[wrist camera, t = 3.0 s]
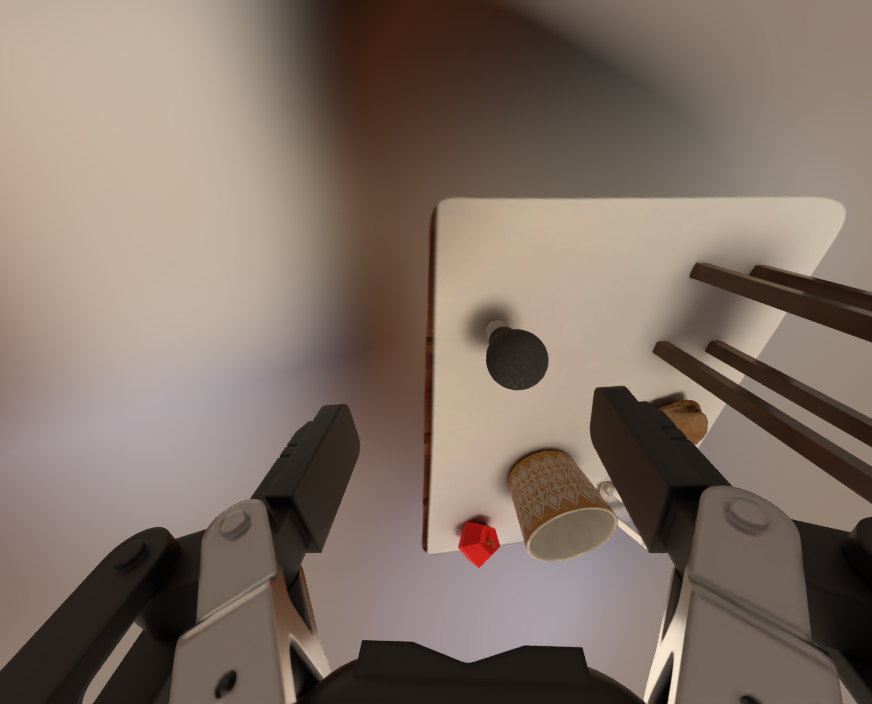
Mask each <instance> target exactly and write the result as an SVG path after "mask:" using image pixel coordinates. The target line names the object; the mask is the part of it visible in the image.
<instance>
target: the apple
mask: <svg viewBox="0 0 872 704" xmlns="http://www.w3.org/2000/svg"><path fill="white" fill-rule="evenodd" d="M499 547H500V544H499V541H498V537H497V534H496V530H495V528H492V527H490V526H487V525H483V524H478V523H473V522H468V521H467V523H466V525H465V527H464V529H463V531H462V534H461V538H460V542H459V546H458V548H459V549H460V550H461V552H462V553H463V554H464V555H465V556H466V558H467V559H468V560H469V561H471V562H472V563H473V564H474V565H476V566H477V567H478V568H480V567H481V566H482V565H483V564H484V563H485V562H486V561H487V560H488V559H489V558H490V557H491V556H492V555H493V554H494V553H495V552H496V551H497V549H498V548H499Z"/></svg>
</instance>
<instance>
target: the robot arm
mask: <svg viewBox="0 0 872 704" xmlns="http://www.w3.org/2000/svg"><path fill="white" fill-rule="evenodd" d="M590 435H591V440H592V443H593V446H594V448H595V450H596V452H597V454H598V455H599V457H600V459H601V461H602V463H603V465H604V467H605V469H606V471H607V473H608V475H609V477H610V479H611V480H612V482H613V484H614V486H615V488H616V490H617V492H618V494H619V496H620V498H621V500H622V502H623V504H624V505H625V507H626V509H627V511H628V513H629V515H630V517H631V519H632V521H633V523H634V525H635V526H636V528H637V530H638V532H639V534H640V536H641V538H642V540H643V542H644V544H645V546H646V548H647V550H648V551H649V553H668V555H669V556H670V558H671V560H672V562H673V563H674V568H673V571H672V574H671V579H670V585H669V590H668V595H667V600H666V605H665V610H664V615H663V620H662V625H661V630H660V635H659V641H658V645H657V649H656V654H655V658H654V661H653V664H652V668H651V671H650V675H649V679H648V683H647V687H646V692H645V697H644V701H643V700H641V699H640V698H639V697H638V696H637V695H636V694H634V693H633V692H632V691H631V690H629V689H628V688H626V687H625V686H623V685H622V684H620V683H619V682H617V681H616V680H614V679H613V678H611V677H609V676H607V675H605V674H603V673H601V672H599V671H597V670H595V669H592V668H590V667H587V663H586V660H585V656H584V652H583V648H582V647H557V646H556V647H555V646H521V647H519V648H515V649H512V650H509V651H506V652H503V653H500V654H497V655H494V656H490V657H488V658H485V659H481V660H478V661H475V662H471V663H465V662H461V661H459V660H456V659H454V658H451V657H449V656H447V655H444V654H442V653H439V652H437V651H434V650H432V649H429V648H427V647H424V646H422V645H419V644H417V643H414V642H404V641H372V640H362V643H361V648H360V652H359V657H358V659H356V660H353V661H351V662H349V663H347V664H345V665H343V666H341V667H339V668H338V669H336V670H335V671H333V672H332V671H331V668H330V665H329V662H328V659H327V657H326V654H325V652H324V649H323V647H322V644H321V642H320V638H319V635H318V631H317V627H316V623H315V618H314V614H313V610H312V605H311V601H310V597H309V593H308V588H307V584H306V580H305V576H304V571H303V568H302V566H301V563H302V561H303V558H304V556H305V554H306V553H321V552H322V550H323V547H324V545H325V542H326V539H327V537H328V534H329V532H330V529H331V526H332V523H333V521H334V518H335V516H336V513H337V511H338V508H339V505H340V503H341V500H342V497H343V495H344V493H345V490H346V487H347V485H348V482H349V480H350V477H351V474H352V472H353V469H354V467H355V464H356V461H357V459H358V456H359V452H360V440H359V436H358V433H357V430H356V427H355V424H354V421H353V418H352V415H351V412H350V409H349V407H348V405H346V404H341V405H340V404H339V405H325V406H323V407H322V408H321V409H320V410H319V412H318V414H317V415H316V417H315V418H314V420H313V421H309V422H307V423H306V424H305V425H304V426H303V427H302V428H300V429H299V430H298V431H297V432H296V433H295V434H294V436H293V437H292V438H291V440H290V441H289V443H288V444H287V447H285V449H284V450H283V452H282V453H281V455H280V458H278V459H277V461H276V462H275V463H274V465H273V466H272V468H271V469H270V471H269V472H268V474H267V475H266V476H265V478H264V479H263V481H262V482H261V484H260V485H259V487H258V488H257V490H256V491H255V493H254V494H253V495H252V497H251V498H250V499H249V500H244V501H242V502H239V503H237V504H234V505H233V506H231V507H229V508H228V509H226V510H225V511H223V512H222V513H221V514H220V515H219V516H218V517H216V518H215V520H213V522H212V523H211V524H210V525H209V527H208V528H207V529H205V530H202V531H199V532H196V533H193V534H189V535H186V536H183V537H180V538H177V539H175V538H174V537H173V536H172V535H171V534H170V532H169V531H168V530H167V529H165V528H162V527H154V528H150V529H147V530H144V531H142V532H139V533H137V534H135V535H134V536H132V537H130V538H129V539H127V540H125V541H124V542H123V543H121V544H120V545H118V546H117V547H116V548H115V549H114V550H112V552H110V553H109V554H108V555H107V556H106V557H105V558H104V559H103V560H102V561H101V562H100V564H99V565H98V566H97V567H96V568H95V569H94V570H93V571H92V572H91V573H90V574H89V575H88V577H87V578H86V579H85V580H84V581H83V582H82V583H81V584H80V585H79V586H78V588H76V590H75V591H74V592H73V593H72V594H71V595H70V596H69V597H68V598H67V599H66V600H65V602H64V603H63V604H62V605H61V606H60V607H59V608H58V609H57V610H56V611H55V612H54V613H53V615H52V616H51V617H50V618H49V619H48V620H47V621H46V622H45V623H44V624H43V625H42V627H41V628H40V629H39V630H38V631H37V632H36V633H35V634H34V635H33V636H32V637H31V639H30V640H29V641H28V642H27V643H26V644H25V645H24V646H23V647H22V648H21V649H20V650H19V652H18V653H17V654H16V655H15V656H14V657H13V658H12V659H11V660H10V661H9V662H8V663H7V664H6V666H5V667H4V668H3V669H2V670H1V671H0V704H82V701H83V697H84V695H85V692H86V690H87V688H88V686H89V684H90V682H91V681H92V679H93V678H94V677H95V675H96V673H97V672H98V671H99V670H100V668H101V667H102V665H103V664H104V662H105V661H106V660H107V658H108V657H109V656H110V654H111V653H112V651H113V650H114V649H115V647H116V646H117V644H118V643H119V642H120V640H121V639H122V637H123V636H124V635H125V633H126V632H127V630H128V629H129V628H130V626H131V625H132V623H133V622H135V623H136V624H137V625H138V626H140V627H141V628H142V629H143V631H142V633H141V634H140V635H139V637H138V638H137V640H136V641H135V643H134V644H133V646H132V647H131V649H130V650H129V652H128V653H127V654H126V656H125V657H124V659H123V661H122V662H121V663H120V665H119V666H118V668H117V669H116V671H115V672H114V674H113V675H112V676H111V678H110V680H109V681H108V682H107V684H106V685H105V687H104V688H103V690H102V691H101V693H100V694H99V696H98V697H97V699H96V700H95V702H94V703H93V704H843V702H842V695H841V690H840V683H839V679H840V680H841V681H842V683H843V684H844V686H845V687H846V688H847V690H848V691H849V693H850V694H851V695H852V697H853V698H854V699H855V701H856V702H857V704H872V517H869V518H864V519H862V520H861V521H859V523H858V524H857V525H856V527H855V528H854V529H853V530H852V532H847V531H842V530H838V529H833V528H829V527H824V526H819V525H815V524H810V523H805V522H801V521H796V520H793V519H790V518H789V517H788V516H787V515H786V514H785V513H784V512H783V511H782V510H781V509H779V508H778V507H777V506H775V505H774V504H772V503H771V502H769V501H767V500H766V499H764V498H762V497H760V496H758V495H756V494H754V493H752V492H749V491H747V490H743V489H740V488H736V487H733V486H731V484H730V483H729V482H728V481H727V480H726V479H725V478H724V477H723V476H722V475H721V474H720V472H719V471H718V470H717V469H716V468H715V467H714V466H713V465H712V464H711V463H710V461H709V460H707V458H706V457H705V456H704V455H703V454H702V453H701V452H700V451H699V450H698V448H697V447H696V446H695V445H694V444H693V443H692V442H691V441H690V440H687V436H686V435H685V434H684V433H683V432H682V431H681V430H680V429H679V428H677V427H676V425H675V423H674V422H673V421H672V420H671V419H670V418H669V417H668V416H667V415H666V414H665V413H664V412H663V411H661V410H660V409H658V408H656V407H655V406H653V405H651V404H650V403H648V402H646V401H643V402H638V401H637V399H636V398H635V397H634V396H633V395H632V393H631V392H630V391H629V390H628V389H627V388H626V387H625V386H613V387H598V388H596V389H595V391H594V397H593V405H592V413H591V422H590ZM814 644H815V645H814Z"/></svg>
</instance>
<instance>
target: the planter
mask: <svg viewBox="0 0 872 704" xmlns="http://www.w3.org/2000/svg"><path fill="white" fill-rule="evenodd" d="M508 482H509V489H510V492H511V496H512V499H513V503H514V506H515V510H516V513H517V517H518V521H519V524H520V528H521V531H522V535H523V538H524V542H525V545H526V549H527V552H528V553H529V555H530V556H532V557H533V558H535V559H537V560H541V561H547V562H555V561H564V560H569V559H573V558H576V557H579V556H582V555H584V554H587V553H589V552H591V551H593V550H595V549H596V548H598V547H600V546H601V545H602V544H604V543H605V542H606V541H607V540H608V539H609V538H610V537H611V536H612V535H613V534H614V532H615V530H616V529H617V526H618V518H617V516H616V514H615V513H614V512H613V510H612V509H611V508H610V506H609V505H608V504H607V503H606V501H605V500H604V499H603V497H602V496H601V495H600V494H599V492H598V491H597V490H596V489H595V487H594V486H593V485H592V483H591V482H590V481H589V480H588V478H587V477H586V476H585V474H584V473H583V472H582V471H581V469H580V468H579V467H578V465H577V464H576V463H575V462H574V460H573V459H572V458H571V457H570V456H568V455H567V454H565V453H562V452H559V451H541V452H537V453H534V454H532V455H530V456H528V457H526V458H524V459H523V460H521V461H520V462H519V463H518V464H517V465H516V466H515V467H514V468H513V470H512V471H511V473H510V476H509V481H508Z"/></svg>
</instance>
